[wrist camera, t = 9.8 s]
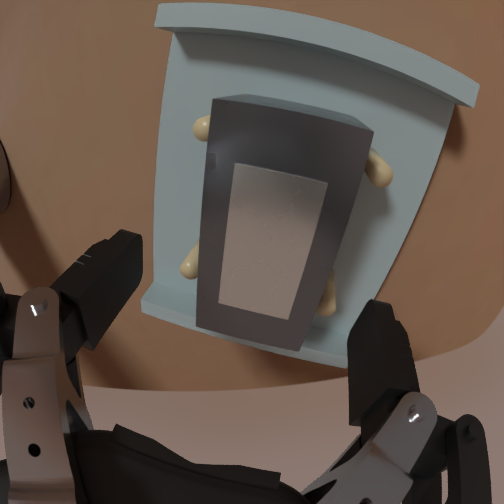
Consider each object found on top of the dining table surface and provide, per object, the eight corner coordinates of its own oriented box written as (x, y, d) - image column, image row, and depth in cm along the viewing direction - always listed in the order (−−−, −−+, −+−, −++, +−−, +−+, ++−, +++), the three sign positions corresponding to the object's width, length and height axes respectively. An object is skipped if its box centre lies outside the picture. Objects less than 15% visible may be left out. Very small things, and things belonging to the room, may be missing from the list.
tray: (161, 283, 21) (135, 322, 18) (187, 15, 11) (147, -1, 8) (344, 334, 21) (345, 380, 17) (450, 82, 11) (491, 85, 7)
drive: (246, 93, 12) (211, 98, 8) (353, 116, 12) (374, 132, 8) (222, 274, 18) (195, 334, 14) (303, 293, 18) (296, 359, 14)
